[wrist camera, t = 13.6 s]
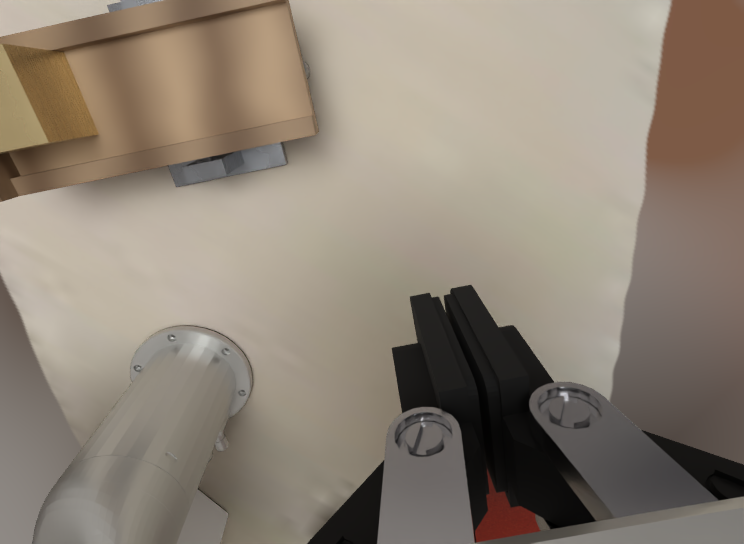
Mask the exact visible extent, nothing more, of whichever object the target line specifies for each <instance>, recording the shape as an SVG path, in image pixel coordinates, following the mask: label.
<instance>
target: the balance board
mask: <svg viewBox="0 0 744 544" xmlns="http://www.w3.org/2000/svg"><path fill="white" fill-rule="evenodd" d="M0 44H9V45H16V46H24V47H31V48H38V49H45V50H52V51H60V52H64V53H65V56H66V58H67V60H68V63H69V65H70V67H71V70H72V72H73V74H74V77H75V79H76V81H77V84H78V86H79V88H80V91H81V93H82V96H83V98H84V100H85V103H86V105H87V107H88V110H89V112H90V114H91V117H92V119H93V121H94V124H95V126H96V128H97V131H98V133H99V134H98V135H94V136H89V137H84V138H79V139H74V140H69V141H64V142H59V143H54V144H49V145H44V146H40V147H35V148H30V149H25V150H20V151H15V152H9V153H3V154H0V202H2V201H5V200H8V199H12V198H15V197H18V196H22V195H27V194H32V193H37V192H42V191H47V190H51V189H56V188H61V187H66V186H71V185H76V184H80V183H85V182H90V181H95V180H100V179H105V178H109V177H114V176H119V175H124V174H129V173H134V172H139V171H143V170H148V169H153V168H158V167H163V166H168V165H172V164H177V163H182V162H187V161H192V160H197V159H201V158H206V157H211V156H216V155H221V154H226V153H231V152H235V151H240V150H245V149H250V148H255V147H260V146H264V145H269V144H274V143H279V142H284V141H289V140H293V139H298V138H303V137H308V136H313V135H316V134H317V133H318V132H319V130H318V125H317V121H316V117H315V112H314V108H313V104H312V99H311V95H310V91H309V86H308V82H307V78H306V73H305V69H304V65H303V60H302V56H301V52H300V47H299V43H298V39H297V35H296V30H295V26H294V22H293V17H292V13H291V9H290V4H289V0H163V1H158V2H154V3H149V4H145V5H141V6H136V7H132V8H127V9H123V10H118V11H114V12H109V13H105V14H101V15H96V16H92V17H87V18H83V19H78V20H74V21H69V22H65V23H60V24H56V25H52V26H47V27H43V28H38V29H34V30H29V31H25V32H20V33H16V34H12V35H7V36H3V37H0Z"/></svg>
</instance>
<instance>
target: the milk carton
mask: <svg viewBox="0 0 744 544" xmlns="http://www.w3.org/2000/svg"><path fill="white" fill-rule="evenodd" d="M227 519H228V513H227V512H226V511H225V510H223V509H222V508H221V507H220V506H218V505H217V504H216V503H214V502H213V501H212V500H211V499H209V498H208V497H207V496H206V495H204V494H203V493H202V492H201V491H199V490H198V489H197V492H196V494H195V497H194V500H193V502H192V505H191V507H190V510H189V512H188V515H187V518H186V520H185V523H184V525H183V528H182V530H181V533H180V536H179V538H178V541H177V544H220V543H221V539H222V536H223V533H224V529H225V526H226V522H227Z"/></svg>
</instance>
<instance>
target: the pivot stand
mask: <svg viewBox="0 0 744 544" xmlns="http://www.w3.org/2000/svg"><path fill="white" fill-rule="evenodd" d="M120 1H121V2H119V3H115V4H110V5H107V7H108V9H109V12H114V11H118V10H123V9H127V8H132V7H136V6H141V5H145V4H149V3H154V2H158V1H163V0H120ZM303 65H304V69H305V73H306V78H307V79H308V77H309V75H310V68H309V66H308V64H307V63H306V62H304V61H303ZM287 163H288V161H287V158H286V154H285V150H284V146H283V143H282V142H279V143H274V144H269V145H264V146H260V147H255V148H250V149H245V150H240V151H235V152H231V153H226V154H221V155H216V156H211V157H206V158H201V159H197V160H192V161H187V162H182V163H177V164H172V165H168V167H169V169H170V172H171V175H172V177H173V180H174V182H175V185H176V187H179V186H184V185H189V184H194V183H199V182H204V181H208V180H213V179H218V178H223V177H228V176H233V175H238V174H242V173H247V172H252V171H257V170H262V169H267V168H272V167H276V166H281V165H286V164H287Z"/></svg>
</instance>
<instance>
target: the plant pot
mask: <svg viewBox="0 0 744 544" xmlns="http://www.w3.org/2000/svg"><path fill="white" fill-rule="evenodd" d="M487 475H488V484H489V494H487V495H486V497H487V506H488V511H487V513H486V515H485V516H484V518H483V519H482V521H481V522H480V524H479V526H478V527H477V529H476V530H475V535H476V542H482V541H488V540H494V539H499V538H505V537H511V536H517V535H522V534H528V533H534V532H539V531H540V529H539V527H538V524H537V522H536V518H535V513H533V512H531V511H529V510H527V509H525V508H523V507H521V506H517V507H510V504H509V502H508V499H507V497H506V494H505V491H504V492H499V493H497V492H496V491H495V488H494V486H493V483H492V480H491V478H490V475H489V472H488V469H487Z"/></svg>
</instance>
